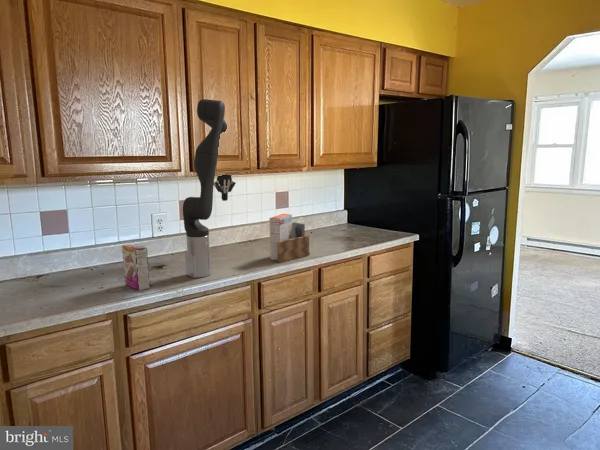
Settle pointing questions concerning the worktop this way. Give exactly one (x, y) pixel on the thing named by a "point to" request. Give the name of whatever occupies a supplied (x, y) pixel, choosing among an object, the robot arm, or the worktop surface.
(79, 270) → the worktop surface
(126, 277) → the candy bar box
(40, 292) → the worktop surface
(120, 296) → the worktop surface
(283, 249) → the shelf wall
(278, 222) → the cracker box
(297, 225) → the bookend
